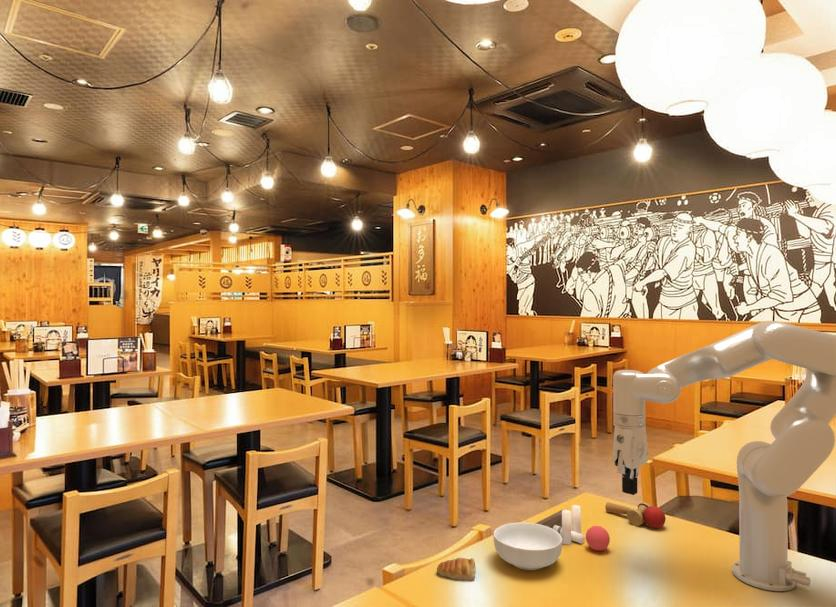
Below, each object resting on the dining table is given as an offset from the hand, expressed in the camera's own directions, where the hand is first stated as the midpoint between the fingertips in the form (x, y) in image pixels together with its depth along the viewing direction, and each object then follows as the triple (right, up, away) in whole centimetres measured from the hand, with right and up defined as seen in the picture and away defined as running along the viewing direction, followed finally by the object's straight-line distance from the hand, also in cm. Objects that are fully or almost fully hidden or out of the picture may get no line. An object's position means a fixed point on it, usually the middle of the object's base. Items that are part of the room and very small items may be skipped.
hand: (629, 492), depth 136 cm
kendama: (+11, -17, +25) cm, 32 cm away
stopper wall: (-16, -17, +17) cm, 29 cm away
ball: (-6, -14, +6) cm, 17 cm away
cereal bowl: (-26, -18, 0) cm, 31 cm away
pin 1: (-13, -17, +10) cm, 24 cm away
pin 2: (-9, -17, +14) cm, 24 cm away
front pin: (-9, -16, +10) cm, 21 cm away
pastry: (-43, -18, -6) cm, 47 cm away
